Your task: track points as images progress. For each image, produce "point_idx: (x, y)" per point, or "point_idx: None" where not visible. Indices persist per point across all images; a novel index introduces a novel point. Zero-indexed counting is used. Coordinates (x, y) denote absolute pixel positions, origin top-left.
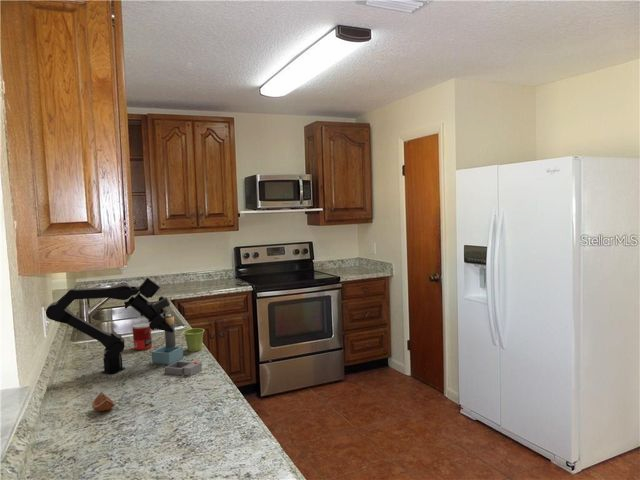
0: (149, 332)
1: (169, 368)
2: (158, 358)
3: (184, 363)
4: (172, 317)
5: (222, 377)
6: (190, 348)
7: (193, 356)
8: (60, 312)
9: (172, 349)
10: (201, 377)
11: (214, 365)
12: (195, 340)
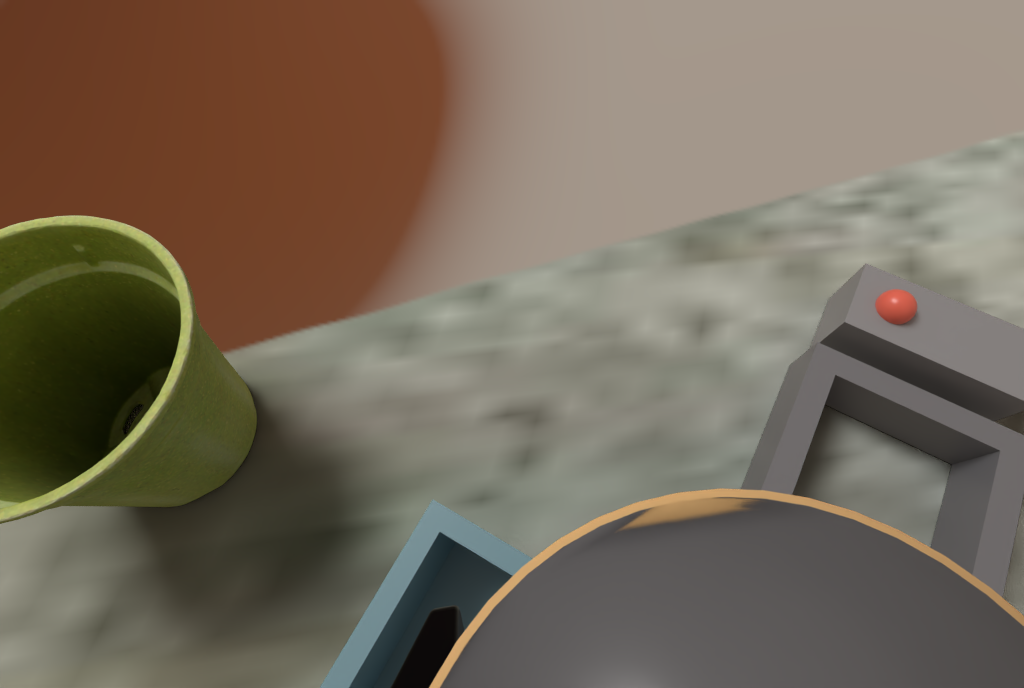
0: None
1: (999, 584)
2: None
3: (808, 441)
4: (924, 560)
5: (999, 147)
6: (227, 460)
7: (417, 418)
8: None
9: (372, 662)
10: (1013, 283)
11: (725, 216)
12: (215, 363)
